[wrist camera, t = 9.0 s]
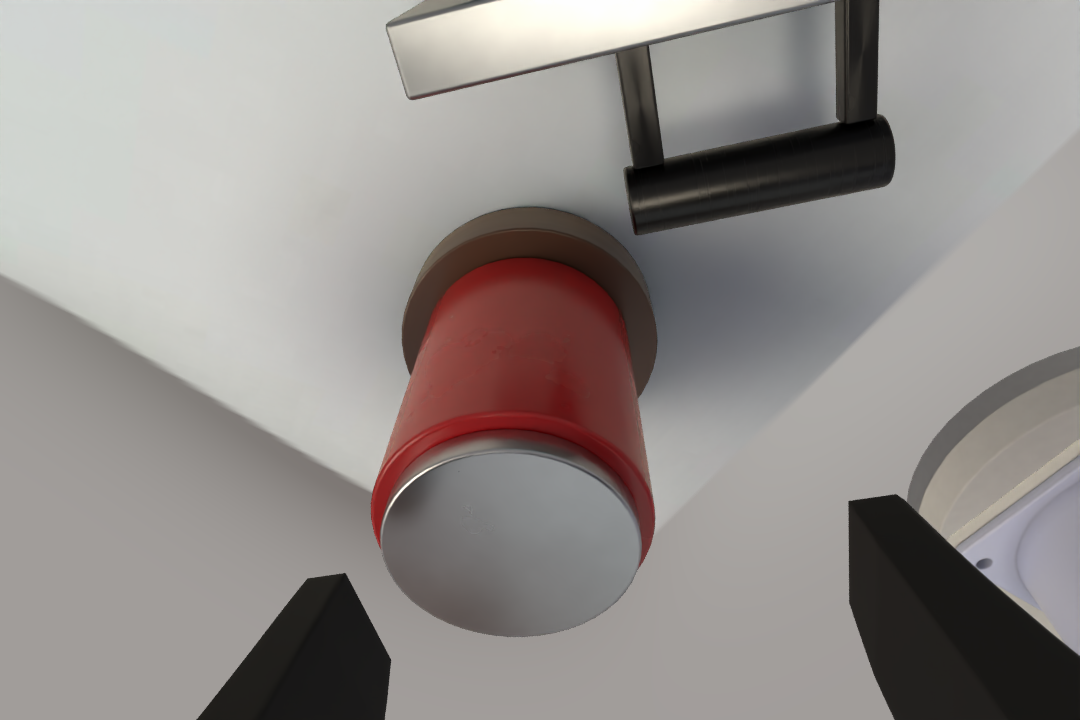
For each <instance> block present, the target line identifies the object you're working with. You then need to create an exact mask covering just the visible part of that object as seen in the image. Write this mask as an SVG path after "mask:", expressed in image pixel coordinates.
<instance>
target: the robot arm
mask: <svg viewBox="0 0 1080 720" xmlns="http://www.w3.org/2000/svg"><path fill="white" fill-rule="evenodd" d="M996 585H997V586H999V587H1000V588H1002V589H1004V590H1006V591H1007V592H1009V593H1011V594H1013V595H1014V596H1016V597H1018V598H1020V599H1021V600H1023V601H1025V602H1027V603H1028V604H1030V605H1032V606H1034V607H1035V608H1037V609H1039V610H1041V611H1042V612H1044V614H1045V615H1046V617H1047V618H1048V620H1049V621H1050V622H1051V624H1052V625H1053V627H1054V628H1055V630H1056V631H1057V633H1058V634H1059V635H1060V637H1061V638H1062V640H1063V641H1064V643H1063V642H1062V641H1061V640H1060V639H1058V638H1057V637H1056V636H1055V635H1053V634H1052V633H1051V632H1050V631H1049V630H1048V629H1046V628H1045V627H1044V626H1043V625H1042V624H1040V623H1039V622H1038V621H1037V620H1036V619H1035V618H1033V617H1032V616H1031V615H1030V614H1029V613H1028V612H1026V611H1025V610H1024V609H1023V608H1022V607H1020V606H1019V605H1018V604H1017V603H1016V602H1015V601H1013V600H1012V599H1011V598H1010V597H1009V596H1008V595H1006V594H1005V593H1004V592H1003V591H1002V590H1001V589H999V588H998V587H997V586H996ZM849 603H850V606H851V609H852V612H853V615H854V618H855V621H856V624H857V627H858V630H859V633H860V636H861V639H862V642H863V644H864V648H865V650H866V653H867V656H868V659H869V662H870V665H871V667H872V670H873V673H874V676H875V678H876V680H877V683H878V685H879V687H880V689H881V691H882V694H883V696H884V698H885V700H886V702H887V704H888V707H889V709H890V711H891V712H892V715H893V717H894V719H895V720H1080V455H1079V456H1077V457H1076V458H1075V459H1073V460H1072V461H1071V462H1069V463H1068V464H1067V465H1065V466H1064V467H1063V468H1061V469H1060V470H1058V471H1057V472H1056V473H1054V474H1053V475H1052V476H1050V477H1049V478H1048V479H1046V480H1045V481H1044V482H1042V483H1041V484H1040V485H1038V486H1037V487H1036V488H1034V489H1033V490H1032V491H1030V492H1029V493H1028V494H1026V495H1025V496H1024V497H1022V498H1021V499H1020V500H1018V501H1017V502H1015V503H1014V504H1013V505H1011V506H1010V507H1009V508H1007V509H1006V510H1005V511H1003V512H1002V513H1001V514H999V515H998V516H997V517H995V518H994V519H993V520H991V521H990V522H989V523H987V524H986V525H985V526H983V527H982V528H981V529H979V530H978V531H977V532H975V533H974V534H972V535H971V536H970V537H968V538H967V539H966V540H964V541H963V542H962V543H960V544H959V545H958V546H957V547H956V549H955V548H954V547H953V546H952V545H951V544H950V543H949V542H948V541H947V540H946V539H945V538H943V537H942V536H941V535H940V534H939V533H938V532H937V531H936V530H935V529H934V528H933V527H932V526H931V525H930V524H929V523H928V522H927V521H926V520H925V519H924V518H923V517H921V516H920V515H919V514H918V513H917V512H916V511H915V510H914V509H913V508H912V507H911V506H910V505H909V504H908V503H907V502H906V501H905V500H904V499H902V498H901V497H899V496H898V495H896V494H895V495H888V496H881V497H874V498H867V499H860V500H853V501H849ZM390 665H391V659H390V657H389V655H388V653H387V651H386V649H385V647H384V645H383V644H382V642H381V640H380V638H379V636H378V634H377V632H376V630H375V628H374V626H373V624H372V623H371V621H370V619H369V617H368V615H367V613H366V611H365V609H364V607H363V605H362V604H361V602H360V600H359V598H358V596H357V594H356V592H355V590H354V588H353V586H352V585H351V583H350V581H349V579H348V577H347V575H346V574H345V573H343V574H336V575H329V576H323V577H315V578H308V579H307V580H306V581H305V582H304V584H303V585H302V586H301V587H300V588H299V590H298V591H297V592H296V594H295V595H294V596H293V597H292V599H291V600H290V601H289V602H288V604H287V605H286V606H285V607H284V609H283V610H282V612H281V613H280V614H279V615H278V617H277V618H276V619H275V620H274V622H273V623H272V624H271V626H270V627H269V628H268V630H267V631H266V632H265V634H264V635H263V636H262V637H261V639H260V640H259V641H258V643H257V644H256V645H255V646H254V648H253V649H252V651H251V652H250V653H249V654H248V655H247V657H246V658H245V659H244V661H243V662H242V663H241V664H240V666H239V667H238V668H237V670H236V671H235V672H234V673H233V675H232V676H231V677H230V679H229V680H228V681H227V682H226V683H225V685H224V686H223V687H222V688H221V690H220V691H219V692H218V694H217V695H216V696H215V697H214V699H213V700H212V701H211V702H210V704H209V705H208V706H207V708H206V709H205V710H204V711H203V712H202V714H201V715H200V716H199V718H198V719H197V720H385V712H386V704H387V695H388V686H389V676H390Z"/></svg>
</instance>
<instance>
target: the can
mask: <svg viewBox="0 0 1080 720" xmlns="http://www.w3.org/2000/svg"><path fill="white" fill-rule="evenodd" d="M371 520H372V525H373V529H374V534H375V536H376V539H377V542H378V544H379V547H380V549H381V551H382V556H383V559H384V562H385V564H386V567H387V570H388V571H389V573H390V575H391V577H392V578H393V580H394V582H395V583H396V584H397V585H398V587H399V588H400V589H401V591H402V592H404V594H405V595H406V596H407V597H408V598H409V599H410V600H412V601H413V602H414V603H415V604H417V605H418V606H419V607H420V608H422V609H423V610H425V611H426V612H428V613H430V614H431V615H433V616H434V617H436V618H438V619H441V620H443V621H445V622H447V623H449V624H452V625H454V626H457V627H460V628H462V629H466V630H470V631H473V632H477V633H483V634H488V635H495V636H506V637H528V636H540V635H546V634H551V633H556V632H560V631H564V630H567V629H570V628H573V627H576V626H578V625H581V624H583V623H585V622H587V621H589V620H591V619H593V618H595V617H597V616H598V615H600V614H601V613H603V612H604V611H606V610H607V609H608V608H609V607H611V606H612V605H613V604H614V603H616V602H617V601H618V600H619V598H620V597H621V596H622V595H623V594H624V593H625V592H626V590H627V589H628V587H629V586H630V584H631V583H632V581H633V579H634V576H635V574H636V572H637V570H638V568H639V567H640V565H641V564H642V562H643V561H644V559H645V557H646V555H647V552H648V550H649V548H650V546H651V542H652V539H653V535H654V529H655V509H654V501H653V495H652V488H651V482H650V475H649V469H648V462H647V456H646V450H645V443H644V437H643V430H642V424H641V418H640V411H639V405H638V398H637V392H636V385H635V379H634V373H633V366H632V360H631V353H630V347H629V341H628V334H627V330H626V326H625V322H624V320H623V318H622V315H621V313H620V311H619V309H618V307H617V306H616V304H615V303H614V301H613V300H612V298H611V297H610V296H609V295H608V294H607V292H606V291H605V290H604V289H603V288H602V287H601V286H599V285H598V284H597V283H596V282H595V281H594V280H592V279H591V278H589V277H588V276H586V275H585V274H583V273H581V272H580V271H578V270H576V269H574V268H572V267H569V266H566V265H564V264H561V263H558V262H554V261H550V260H546V259H538V258H512V259H505V260H500V261H496V262H492V263H488V264H486V265H484V266H481V267H479V268H476V269H474V270H473V271H471V272H469V273H467V274H466V275H464V276H463V277H461V278H460V279H459V280H457V281H456V282H455V283H454V284H453V285H452V286H451V287H450V288H449V289H448V290H447V291H446V292H445V293H444V294H443V296H442V297H441V298H440V300H439V301H438V303H437V305H436V307H435V308H434V310H433V312H432V315H431V318H430V321H429V324H428V327H427V330H426V333H425V336H424V339H423V342H422V345H421V348H420V351H419V354H418V357H417V360H416V363H415V366H414V369H413V372H412V375H411V378H410V381H409V384H408V387H407V390H406V393H405V396H404V399H403V402H402V405H401V408H400V411H399V414H398V417H397V420H396V423H395V426H394V429H393V432H392V435H391V438H390V441H389V444H388V447H387V450H386V453H385V456H384V459H383V462H382V465H381V468H380V471H379V474H378V477H377V480H376V483H375V486H374V489H373V493H372V500H371Z"/></svg>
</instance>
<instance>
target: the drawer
mask: <svg viewBox="0 0 1080 720" xmlns="http://www.w3.org/2000/svg"><path fill="white" fill-rule="evenodd" d="M831 2H835V51H836V118H837V119H838V120H839V121H840V122H836V123H831V124H827V125H822V126H817V127H812V128H808V129H803V130H798V131H793V132H789V133H784V134H779V135H775V136H770V137H765V138H760V139H756V140H751V141H746V142H741V143H737V144H732V145H727V146H722V147H718V148H713V149H708V150H704V151H699V152H694V153H689V154H685V155H680V156H675V157H670V158H666V159H664V155H663V148H662V140H661V133H660V126H659V118H658V111H657V103H656V96H655V88H654V81H653V74H652V66H651V59H650V51H649V45H652V44H656V43H660V42H665V41H669V40H673V39H677V38H682V37H686V36H690V35H694V34H699V33H703V32H707V31H712V30H716V29H720V28H724V27H729V26H733V25H737V24H742V23H746V22H750V21H754V20H759V19H763V18H767V17H771V16H776V15H780V14H784V13H789V12H793V11H797V10H801V9H806V8H810V7H814V6H819V5H823V4H827V3H831ZM386 31H387V34H388V37H389V41H390V44H391V47H392V50H393V54H394V57H395V60H396V63H397V67H398V70H399V73H400V76H401V80H402V83H403V86H404V89H405V93H406V96H407V97H408V99H409V100H416V99H421V98H425V97H429V96H433V95H438V94H442V93H446V92H451V91H455V90H459V89H463V88H468V87H472V86H476V85H481V84H485V83H489V82H493V81H498V80H502V79H506V78H510V77H515V76H519V75H523V74H528V73H532V72H536V71H540V70H545V69H549V68H553V67H558V66H562V65H566V64H570V63H575V62H579V61H583V60H587V59H592V58H596V57H600V56H605V55H609V54H613V53H615V58H616V64H617V71H618V77H619V83H620V90H621V96H622V102H623V109H624V115H625V121H626V128H627V134H628V140H629V147H630V153H631V159H632V163H633V166H628V167H625V168H624V170H623V173H624V180H625V187H626V193H627V199H628V205H629V210H630V216H631V221H632V226H633V231H634V234H635V235H643V234H648V233H653V232H658V231H663V230H668V229H673V228H678V227H684V226H689V225H694V224H699V223H704V222H709V221H714V220H719V219H724V218H729V217H734V216H739V215H744V214H749V213H754V212H759V211H765V210H770V209H775V208H780V207H785V206H790V205H795V204H800V203H805V202H810V201H815V200H820V199H825V198H830V197H835V196H840V195H845V194H851V193H856V192H861V191H866V190H871V189H876V188H881V187H885V186H886V185H888V184H889V183H890V182H891V180H892V177H893V174H894V169H895V144H894V138H893V134H892V131H891V128H890V125H889V123H888V121H887V120H886V118H885V117H884V116H882V115H880V114H877V93H878V39H879V0H425V1H423V2H422V3H420V4H418V5H417V6H415V7H413V8H411V9H410V10H408V11H406V12H405V13H403V14H401V15H400V16H398V17H396V18H394V19H393V20H391V21H389V22H388V23H387V24H386Z"/></svg>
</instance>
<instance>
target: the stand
mask: <svg viewBox="0 0 1080 720" xmlns="http://www.w3.org/2000/svg"><path fill="white" fill-rule="evenodd" d="M512 258H538V259H546V260H550V261H554V262H558V263H561V264H564V265H566V266H569V267H572V268H574V269H576V270H578V271H580V272H581V273H583V274H585V275H586V276H588V277H589V278H591V279H592V280H594V281H595V282H596V283H597V284H598V285H599V286H601V287H602V288H603V289H604V290H605V291H606V292H607V294H608V295H609V296H610V297H611V298H612V300H613V301H614V303H615V304H616V306H617V307H618V309H619V311H620V313H621V315H622V318H623V320H624V322H625V326H626V330H627V334H628V341H629V347H630V353H631V360H632V366H633V373H634V379H635V385H636V392H637V398H639V396H640V395H641V393H642V392H643V390H644V388H645V386H646V384H647V383H648V381H649V378H650V375H651V373H652V370H653V367H654V363H655V358H656V352H657V329H656V322H655V318H654V314H653V309H652V305H651V301H650V296H649V292H648V288H647V285H646V282H645V280H644V277H643V275H642V273H641V271H640V269H639V267H638V266H637V264H636V262H635V261H634V259H633V258H632V257H631V255H630V254H629V253H628V252H627V250H626V249H625V248H624V247H623V246H622V245H621V244H620V243H619V242H618V241H617V240H616V239H615V238H614V237H613V236H611V235H610V234H608V233H607V232H606V231H604V230H603V229H602V228H600V227H598V226H597V225H595V224H593V223H591V222H589V221H587V220H585V219H583V218H580V217H578V216H575V215H572V214H570V213H566V212H562V211H558V210H554V209H546V208H537V207H523V208H512V209H505V210H500V211H496V212H492V213H489V214H485V215H483V216H481V217H478V218H476V219H473V220H471V221H469V222H467V223H466V224H464V225H462V226H461V227H459V228H457V229H456V230H455V231H453V232H452V233H451V234H450V235H448V236H447V237H446V238H445V239H443V240H442V242H441V243H440V244H439V245H438V246H437V247H436V248H435V249H434V250H433V251H432V253H431V254H430V256H429V257H428V259H427V260H426V261H425V263H424V265H423V267H422V269H421V271H420V273H419V275H418V277H417V280H416V282H415V285H414V287H413V290H412V292H411V295H410V297H409V300H408V303H407V306H406V309H405V312H404V318H403V324H402V346H403V353H404V358H405V361H406V365H407V368H408V371H409V373H410V375H412V372H413V369H414V366H415V363H416V360H417V357H418V354H419V351H420V348H421V345H422V342H423V339H424V336H425V333H426V330H427V327H428V324H429V321H430V318H431V315H432V312H433V310H434V308H435V307H436V305H437V303H438V301H439V300H440V298H441V297H442V296H443V294H444V293H445V292H446V291H447V290H448V289H449V288H450V287H451V286H452V285H453V284H454V283H455V282H456V281H457V280H459V279H460V278H461V277H463V276H464V275H466V274H467V273H469V272H471V271H473V270H474V269H476V268H479V267H481V266H484V265H486V264H488V263H492V262H496V261H500V260H505V259H512Z"/></svg>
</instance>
